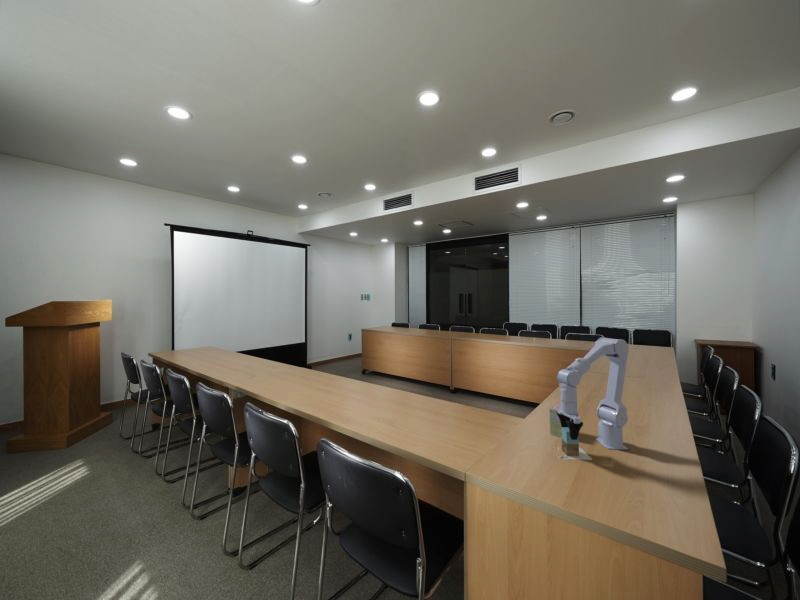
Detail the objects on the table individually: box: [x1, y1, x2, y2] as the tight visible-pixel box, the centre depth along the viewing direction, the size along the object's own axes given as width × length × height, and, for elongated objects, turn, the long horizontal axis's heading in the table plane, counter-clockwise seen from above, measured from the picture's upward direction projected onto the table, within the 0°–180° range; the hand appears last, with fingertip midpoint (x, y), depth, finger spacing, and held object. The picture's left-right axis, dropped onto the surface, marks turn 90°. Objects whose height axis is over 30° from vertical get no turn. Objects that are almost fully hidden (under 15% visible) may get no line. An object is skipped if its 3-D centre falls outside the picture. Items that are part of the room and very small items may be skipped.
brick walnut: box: [561, 438, 580, 456], centre depth 127 cm, size 5×5×5 cm
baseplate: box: [552, 446, 593, 461], centre depth 127 cm, size 10×12×1 cm
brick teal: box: [561, 427, 580, 445], centre depth 127 cm, size 5×5×5 cm
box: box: [548, 403, 562, 439], centre depth 146 cm, size 10×6×12 cm, turn 134°
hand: (569, 435), depth 127 cm, fingers open, 7 cm apart
